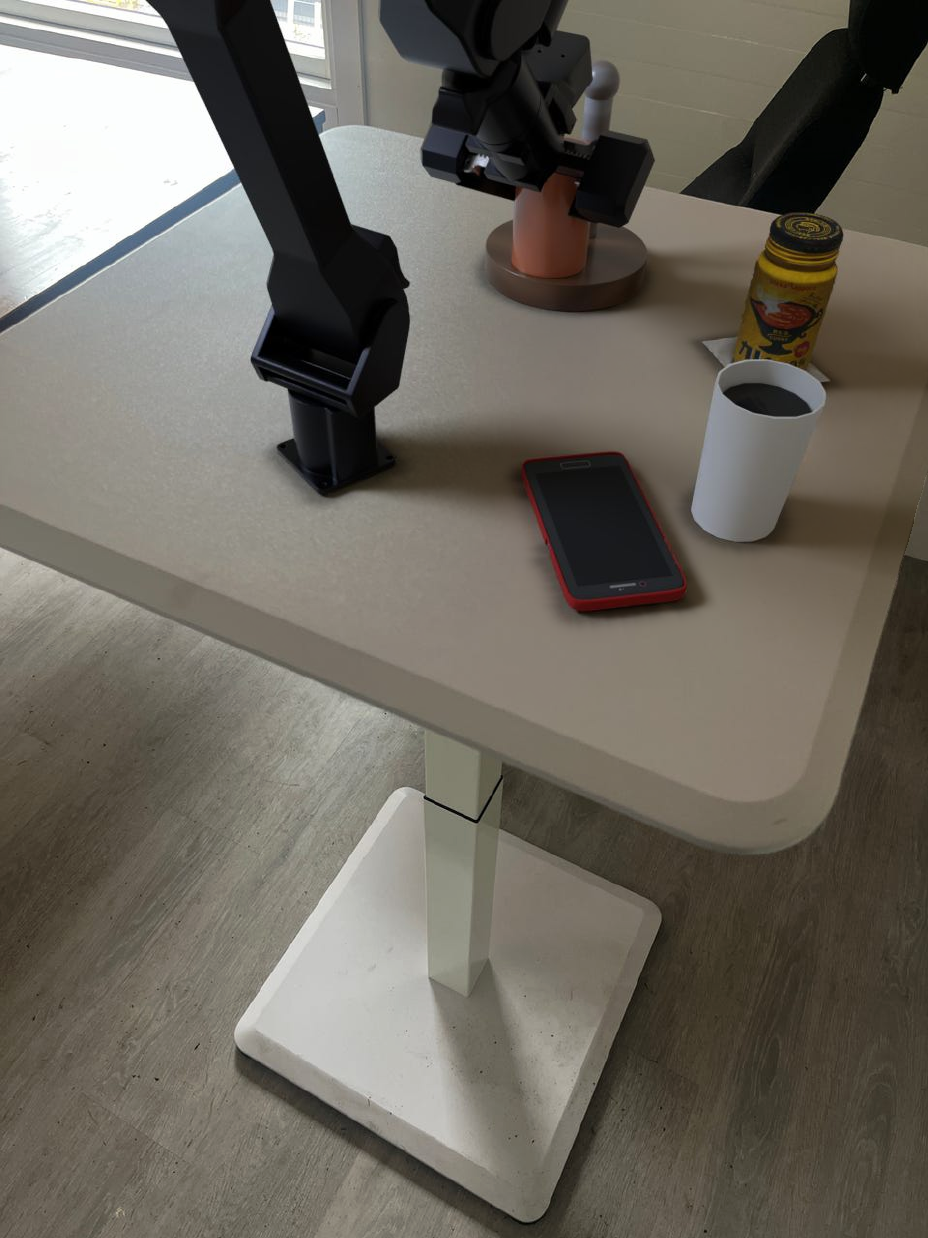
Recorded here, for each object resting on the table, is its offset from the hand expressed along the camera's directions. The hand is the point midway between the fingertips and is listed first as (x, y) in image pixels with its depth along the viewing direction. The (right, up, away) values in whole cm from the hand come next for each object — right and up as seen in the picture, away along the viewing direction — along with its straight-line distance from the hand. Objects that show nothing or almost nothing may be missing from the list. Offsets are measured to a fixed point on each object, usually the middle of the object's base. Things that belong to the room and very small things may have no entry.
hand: (560, 207), depth 82 cm
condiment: (+17, -15, -4) cm, 23 cm away
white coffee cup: (+10, -29, -18) cm, 36 cm away
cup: (-1, -4, +2) cm, 5 cm away
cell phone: (0, -31, -20) cm, 36 cm away
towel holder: (+1, -3, +6) cm, 7 cm away
